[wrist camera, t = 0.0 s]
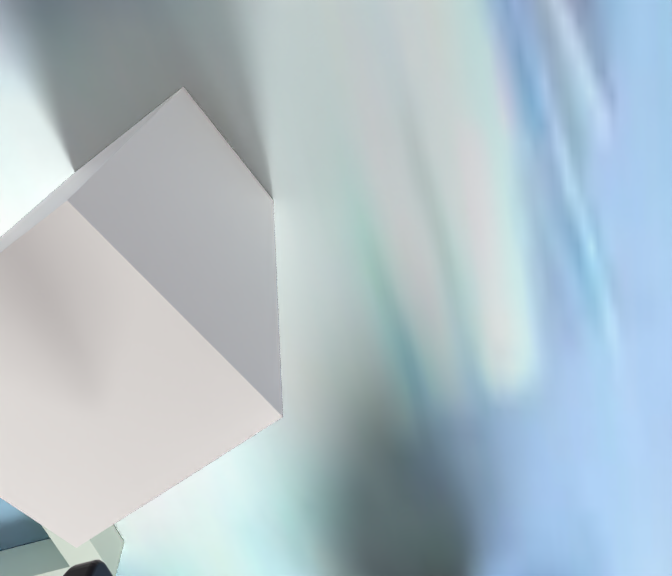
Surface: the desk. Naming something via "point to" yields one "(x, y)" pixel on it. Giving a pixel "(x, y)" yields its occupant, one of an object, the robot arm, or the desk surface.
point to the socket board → (61, 555)
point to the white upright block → (136, 324)
